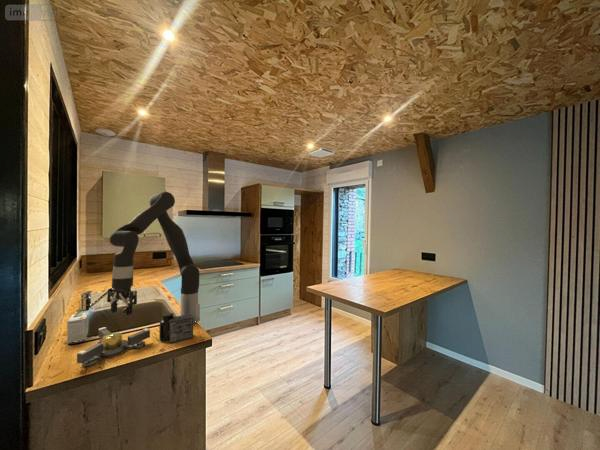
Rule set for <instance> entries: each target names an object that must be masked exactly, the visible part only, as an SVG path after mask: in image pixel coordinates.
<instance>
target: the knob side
mask: <svg viewBox="0 0 600 450" xmlns="http://www.w3.org/2000/svg"><path fill="white" fill-rule="evenodd" d="M111 333H112V332H111V331H109V330H108V329H107V327H106V326H104V327H100V328H98V338H99V339H100V341H101V342H102V338H103V337H104V336H105V335H108V334H111Z"/></svg>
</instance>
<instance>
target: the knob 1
mask: <svg viewBox="0 0 600 450" xmlns="http://www.w3.org/2000/svg"><path fill="white" fill-rule="evenodd" d="M102 352H103V344H102V343H98V342H97V343H95V344H94V345H91V346H90V347H88V348H86V349H84V350H80V351H78V352H76V364H82V363H84V362H86V361H92V360H94V357H95V356H96V355H98V354H100V353H102Z"/></svg>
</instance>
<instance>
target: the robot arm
mask: <svg viewBox="0 0 600 450" xmlns="http://www.w3.org/2000/svg"><path fill="white" fill-rule="evenodd" d="M175 203H176V200H175V197H174V195H173V194H172V193H171V192H169V191H163V192H159V193H156V194H153V195H151V196H150V197H149V207H148V208H146V209H145V210H143V211H142V212H140V213H139V214H137V215H136V216H135V217H134V218H133V219H131V221H129V222H128V223H126V224H124V225H122V226H121V227H118V228H116V230H114V231H113V232H112V233H111V235H110V236H109V243H110V244H111V245H112V246H114V247H121V248H123V249H122V250H121V251H120V252H116V253H114V255H113V263H112V264H113V266H112V267H113V268H112V273H111V275H112V276H111V287H110V288H108V289H107V298H106V302H107V303H109V304H110V313H116V312H117V311H118V303H119V301H122V303H124V304H125V306H126V307H125V316H129V315H132V313H133V306H135V305H137V304H138V292H137V290H135V289H134V290H131V289H132V287H133V286H134V256H135V253H136V250H137V247H138V244H139V240H140V238H139V235H141V234H143V233H144V232H145V231H146V230H147V229H148V228H149V227H150V226H151V225H152V224H153V223H154V222H155V221H156V220H157V221H158V223H159V225H160V227H161V229H162V231H163V235H164V237H165V239H166V242H167V244H168V247H169V248H170V250H171V252H172V254H173V256H174V257H175V259H176V262H177V265H178V269H179V272H180V273H179V274H180V276H181V285H180V286H181V287H180V316H182V315H187V314H192V316H193V325H195V324H197V323H198V322H199V321H200V316H201V315H200V314H201V312H200V310H201V308H200V307H201V304H200V303H199V289H200V269H199V268H198V267H197V265H196V264H195V262H194V260H193V258H192V257H191V254H190V251H189V246H188V242H187V238H186V236H185V234H184V231H183V229H182V228H181V227H180V226H179V225H178V224H177V223H176V222H175V221H174V220H173V219H172V218H171V217H170V215H169V213H168V211H169V210H170V209H171V208H173V207H174V206H175ZM195 321H196V322H197V323H196V322H195Z"/></svg>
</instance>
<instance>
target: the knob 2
mask: <svg viewBox="0 0 600 450" xmlns="http://www.w3.org/2000/svg"><path fill="white" fill-rule="evenodd" d="M150 331H151V328H146V327H145V328H143V329H142V330H141V331H138V332H136V333H134V334H131V335H129V336H127V341H128V345H133V344H141V343H142V341H145V340H147V339H149V338H150V337H151V332H150Z"/></svg>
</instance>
